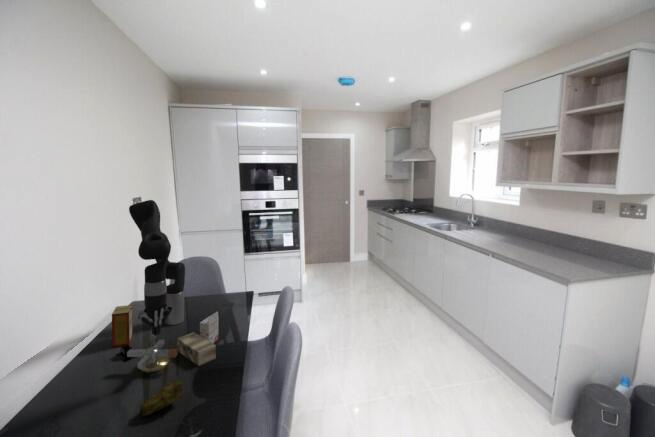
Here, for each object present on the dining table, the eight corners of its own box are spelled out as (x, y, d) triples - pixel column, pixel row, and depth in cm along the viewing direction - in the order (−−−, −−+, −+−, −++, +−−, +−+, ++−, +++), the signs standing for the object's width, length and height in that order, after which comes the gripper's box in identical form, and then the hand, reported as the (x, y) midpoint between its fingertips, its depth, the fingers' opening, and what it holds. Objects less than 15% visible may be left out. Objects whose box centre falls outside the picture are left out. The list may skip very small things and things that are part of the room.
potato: (142, 404, 104) (142, 382, 103) (183, 395, 110) (184, 374, 109) (139, 421, 97) (138, 398, 96) (183, 411, 102) (183, 389, 101)
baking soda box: (129, 344, 141) (128, 311, 140) (112, 347, 139) (111, 313, 137) (132, 335, 150) (132, 304, 148) (116, 337, 147) (116, 305, 145)
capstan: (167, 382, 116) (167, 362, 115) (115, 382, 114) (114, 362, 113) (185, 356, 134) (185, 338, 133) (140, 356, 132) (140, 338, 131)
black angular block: (141, 358, 132) (141, 348, 131) (122, 366, 126) (122, 355, 125) (128, 348, 139) (128, 339, 138) (110, 355, 133) (110, 345, 132)
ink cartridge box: (209, 337, 151) (210, 309, 150) (218, 339, 150) (219, 310, 149) (199, 346, 143) (199, 316, 141) (208, 348, 142) (208, 318, 140)
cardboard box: (174, 351, 137) (174, 339, 137) (193, 344, 145) (194, 332, 144) (196, 367, 127) (196, 353, 126) (215, 358, 134) (215, 345, 133)
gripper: (144, 299, 108) (145, 344, 110) (177, 288, 120) (177, 330, 122) (132, 294, 112) (133, 339, 114) (165, 285, 123) (165, 325, 125)
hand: (156, 334), depth 118 cm, fingers closed
